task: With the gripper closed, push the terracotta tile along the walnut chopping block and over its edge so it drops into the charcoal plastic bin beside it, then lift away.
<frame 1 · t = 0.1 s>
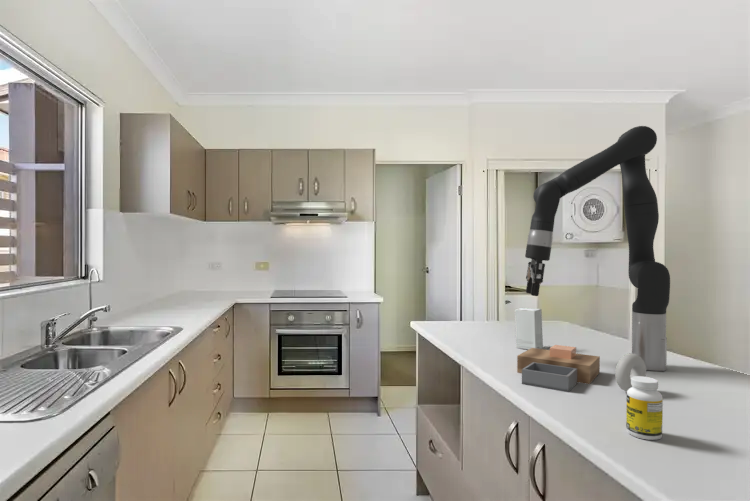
hand: (531, 294, 149), 22 cm above the countertop, tool pointing down, fingers open, 8 cm apart
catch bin: (549, 383, 127), on the countertop
pill bottle: (643, 435, 92), on the countertop
chopping block: (558, 372, 138), on the countertop
skincare box: (528, 349, 172), on the countertop
donut: (630, 392, 120), on the countertop
tile: (562, 355, 138), point 5 cm above the countertop, touching chopping block
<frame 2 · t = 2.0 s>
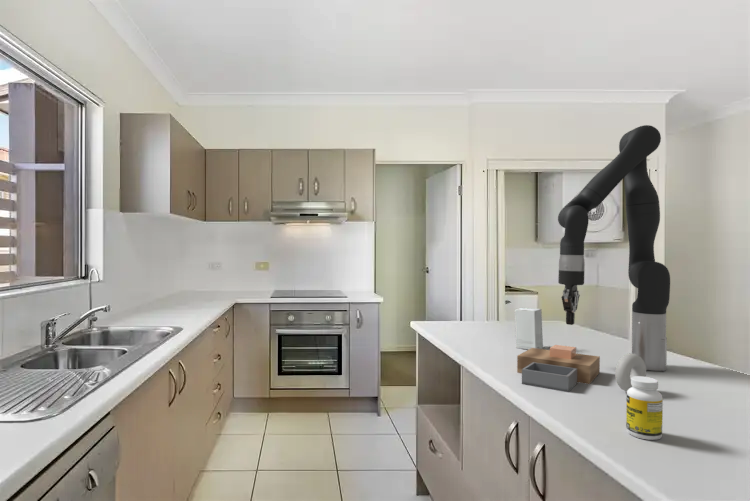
hand: (570, 324, 146), 13 cm above the countertop, tool pointing down, fingers closed
nothing on the countertop moved.
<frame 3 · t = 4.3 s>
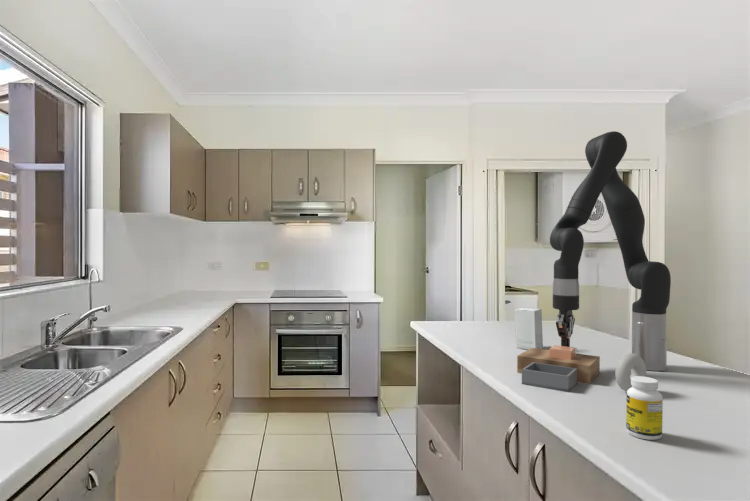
hand: (565, 350, 141), 6 cm above the countertop, tool pointing down, fingers closed
tile: (562, 356, 137), point 5 cm above the countertop, touching chopping block, gripper
everything else where it was.
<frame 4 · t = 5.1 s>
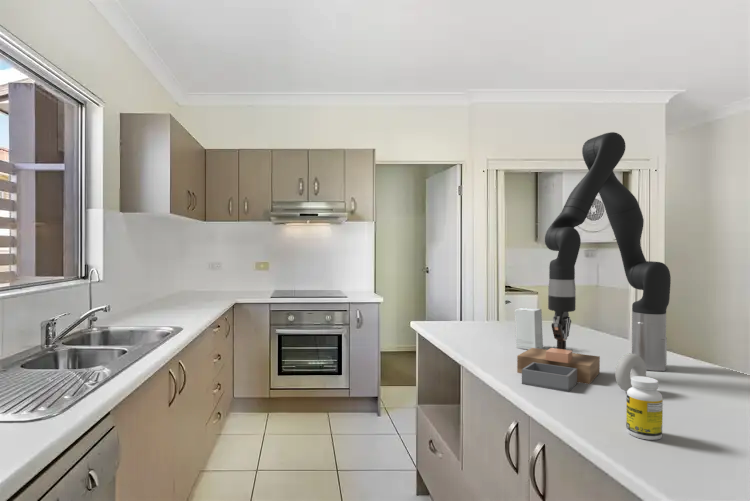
hand: (561, 352, 137), 6 cm above the countertop, tool pointing down, fingers closed
tile: (559, 359, 133), point 5 cm above the countertop, touching gripper
everything else where it was.
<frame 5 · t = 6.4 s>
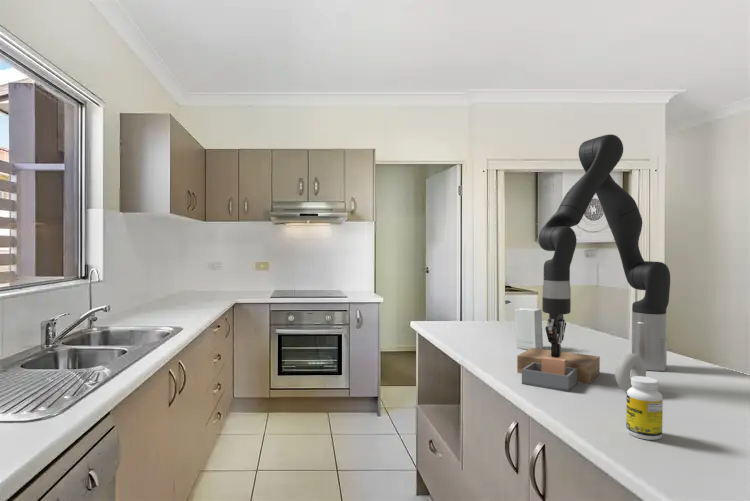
hand: (555, 356, 132), 6 cm above the countertop, tool pointing down, fingers closed
tile: (554, 368, 129), point 4 cm above the countertop, tilted 90°, touching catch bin
everything else where it was.
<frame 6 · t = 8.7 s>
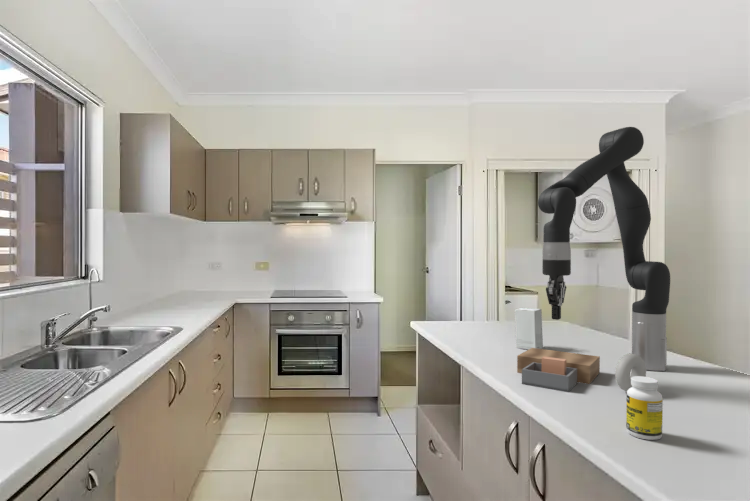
hand: (556, 319, 132), 17 cm above the countertop, tool pointing down, fingers closed
nothing on the countertop moved.
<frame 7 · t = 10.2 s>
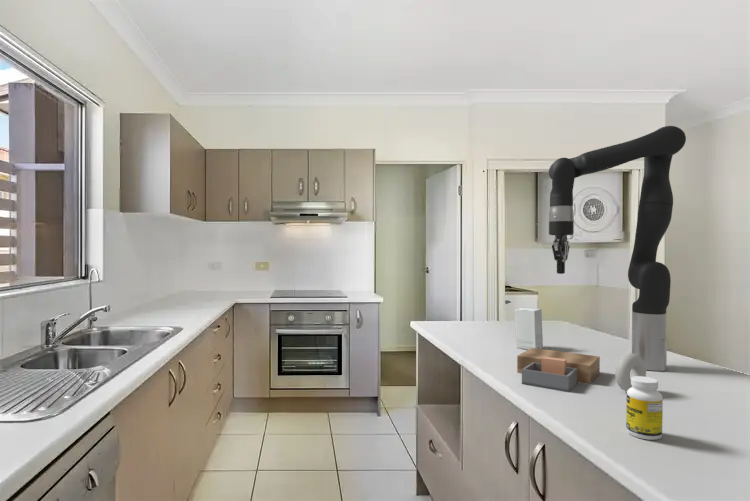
hand: (560, 273, 151), 29 cm above the countertop, tool pointing down, fingers closed
nothing on the countertop moved.
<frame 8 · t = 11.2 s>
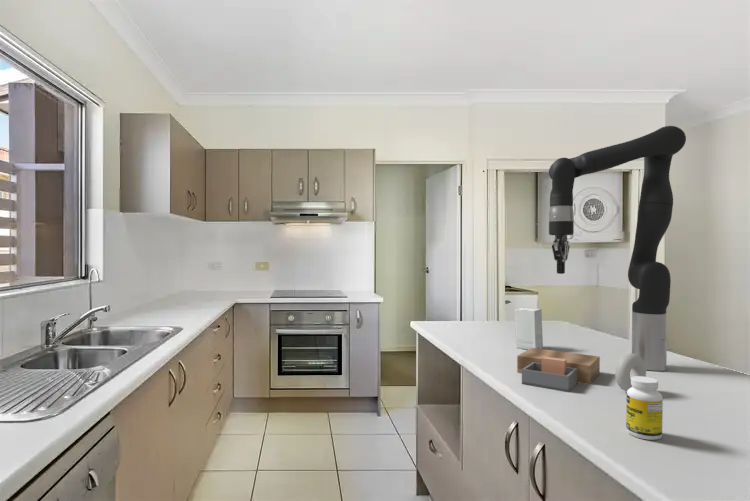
hand: (560, 273, 151), 29 cm above the countertop, tool pointing down, fingers closed
nothing on the countertop moved.
at the end: tile inside the target area (3.0 cm from its centre), point 3.6 cm above the countertop; tile moved 11.2 cm from its start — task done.
